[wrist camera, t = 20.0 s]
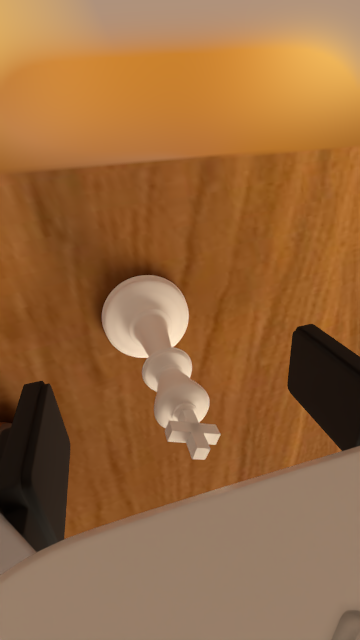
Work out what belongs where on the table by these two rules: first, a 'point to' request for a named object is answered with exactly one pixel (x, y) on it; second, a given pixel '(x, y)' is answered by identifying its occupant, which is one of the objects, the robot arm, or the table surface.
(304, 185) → the table surface
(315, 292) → the table surface
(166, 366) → the chess piece
